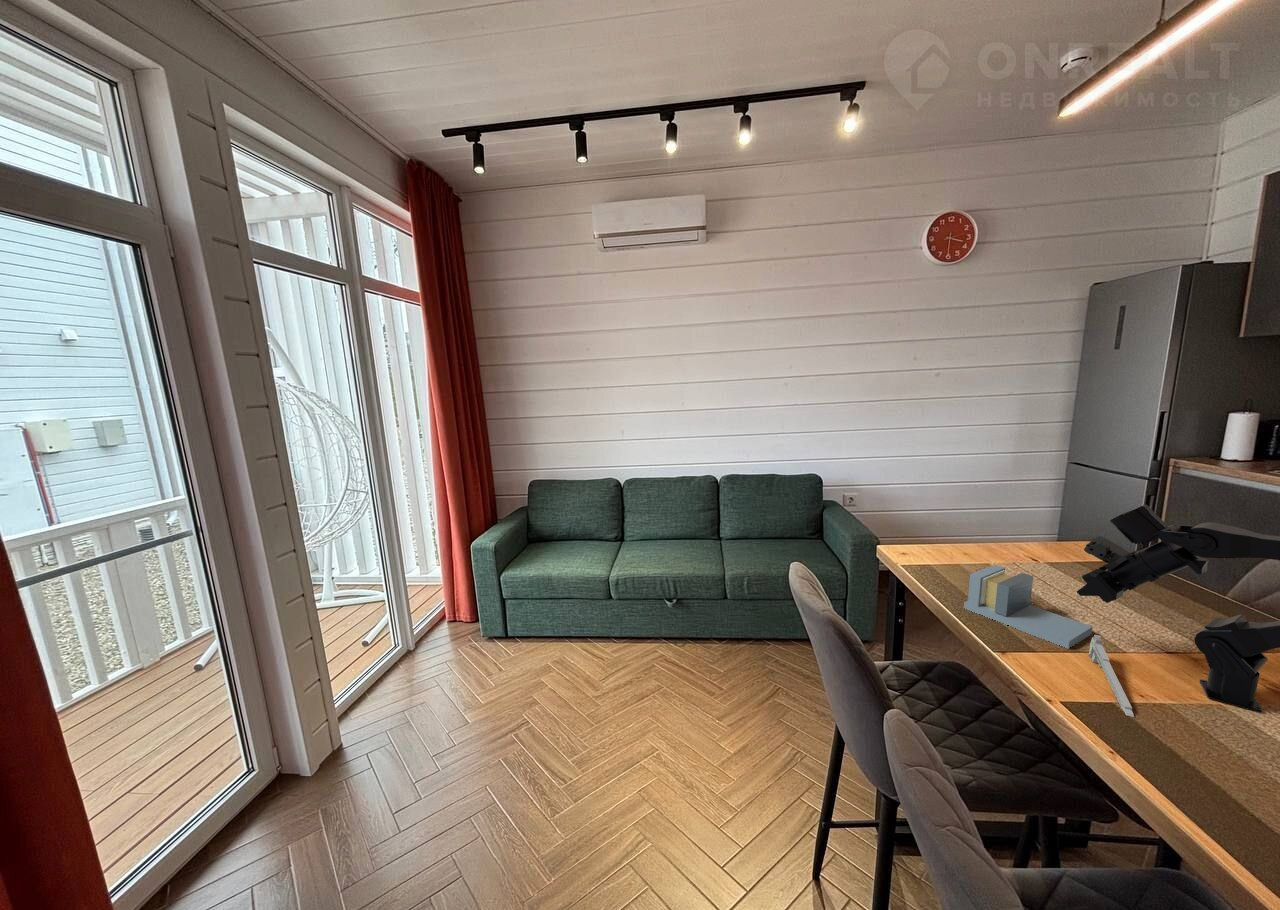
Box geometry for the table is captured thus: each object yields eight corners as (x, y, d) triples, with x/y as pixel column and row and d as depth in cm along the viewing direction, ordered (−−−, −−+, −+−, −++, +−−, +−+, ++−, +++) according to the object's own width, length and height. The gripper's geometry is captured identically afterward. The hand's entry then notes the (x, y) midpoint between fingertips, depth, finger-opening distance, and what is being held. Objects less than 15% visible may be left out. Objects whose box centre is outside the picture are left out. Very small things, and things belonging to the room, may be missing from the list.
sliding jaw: (1030, 604, 122) (1033, 576, 120) (1005, 616, 116) (1009, 587, 115) (1017, 599, 124) (1020, 572, 123) (992, 611, 119) (995, 582, 117)
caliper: (1087, 657, 103) (1091, 631, 102) (1094, 659, 102) (1098, 632, 101) (1126, 717, 85) (1130, 685, 84) (1134, 719, 85) (1139, 687, 84)
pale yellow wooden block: (1013, 602, 123) (1015, 577, 122) (996, 610, 120) (999, 584, 119) (1000, 598, 126) (1002, 573, 125) (983, 605, 122) (986, 580, 121)
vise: (1091, 634, 111) (1097, 595, 110) (1068, 649, 106) (1073, 608, 104) (988, 597, 130) (991, 563, 129) (963, 608, 125) (966, 573, 123)
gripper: (1135, 521, 105) (1068, 554, 116) (1099, 537, 96) (1030, 570, 108) (1183, 566, 99) (1107, 596, 110) (1149, 587, 91) (1071, 616, 102)
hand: (1078, 593), depth 108 cm, fingers closed
